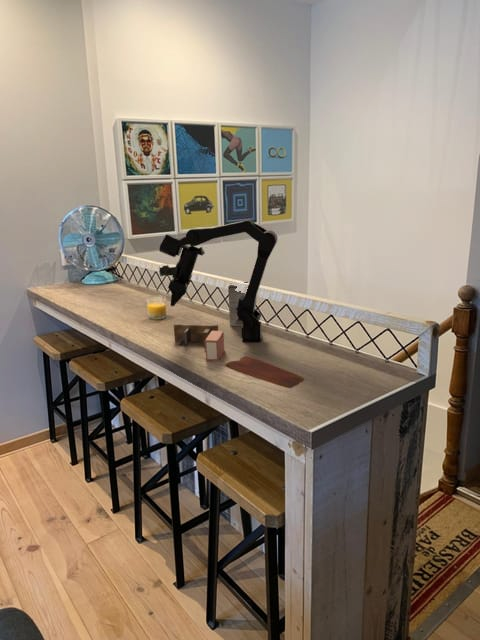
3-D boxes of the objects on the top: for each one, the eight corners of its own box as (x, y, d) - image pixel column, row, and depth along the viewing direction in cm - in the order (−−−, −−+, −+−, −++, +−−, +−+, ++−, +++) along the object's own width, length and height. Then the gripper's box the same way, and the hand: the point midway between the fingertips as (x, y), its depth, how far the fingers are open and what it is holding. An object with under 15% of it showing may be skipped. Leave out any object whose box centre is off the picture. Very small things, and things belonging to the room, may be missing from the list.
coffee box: (234, 319, 202) (232, 281, 198) (249, 320, 201) (248, 281, 196) (229, 326, 193) (227, 286, 189) (245, 326, 192) (244, 286, 188)
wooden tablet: (222, 367, 154) (222, 362, 153) (245, 358, 160) (245, 354, 160) (286, 391, 135) (286, 386, 135) (309, 380, 141) (309, 375, 141)
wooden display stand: (218, 340, 177) (218, 324, 175) (214, 346, 171) (214, 330, 169) (176, 339, 180) (174, 323, 178) (170, 345, 173) (169, 329, 172)
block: (224, 350, 167) (223, 330, 165) (218, 361, 157) (217, 340, 155) (212, 350, 168) (211, 330, 166) (206, 360, 158) (205, 340, 156)
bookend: (191, 340, 178) (190, 327, 176) (187, 345, 172) (186, 332, 171) (183, 340, 178) (182, 327, 177) (179, 345, 173) (178, 331, 172)
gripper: (168, 249, 180) (156, 287, 185) (160, 260, 163) (147, 302, 168) (197, 259, 182) (184, 297, 187) (192, 271, 164) (178, 313, 169)
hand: (173, 302), depth 178 cm, fingers open, 9 cm apart
